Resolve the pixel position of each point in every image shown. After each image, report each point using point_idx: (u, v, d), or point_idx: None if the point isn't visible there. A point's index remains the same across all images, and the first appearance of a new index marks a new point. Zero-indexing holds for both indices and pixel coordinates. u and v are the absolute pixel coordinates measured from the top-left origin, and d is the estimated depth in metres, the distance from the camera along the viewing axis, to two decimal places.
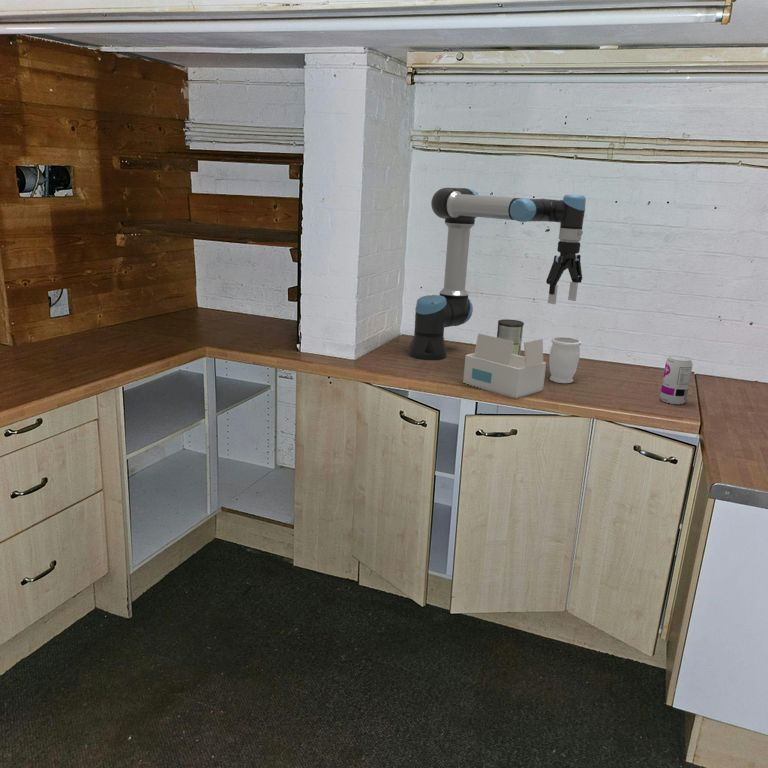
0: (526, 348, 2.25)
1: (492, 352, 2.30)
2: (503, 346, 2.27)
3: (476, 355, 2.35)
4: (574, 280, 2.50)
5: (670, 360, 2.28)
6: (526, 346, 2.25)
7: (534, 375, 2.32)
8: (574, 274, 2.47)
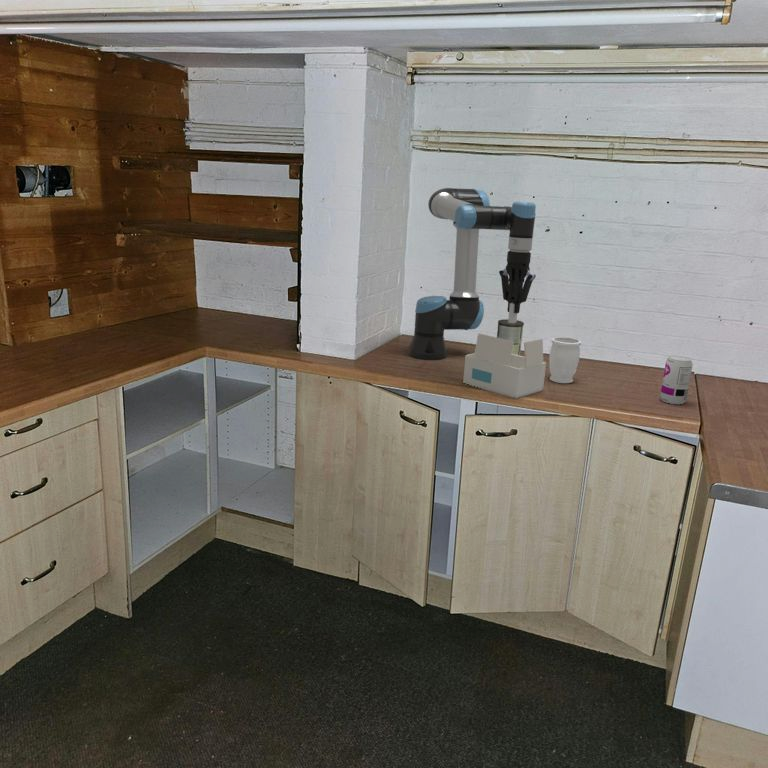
0: (526, 348, 2.25)
1: (492, 352, 2.30)
2: (503, 346, 2.27)
3: (476, 355, 2.35)
4: None
5: (670, 360, 2.28)
6: (526, 346, 2.25)
7: (534, 375, 2.32)
8: None
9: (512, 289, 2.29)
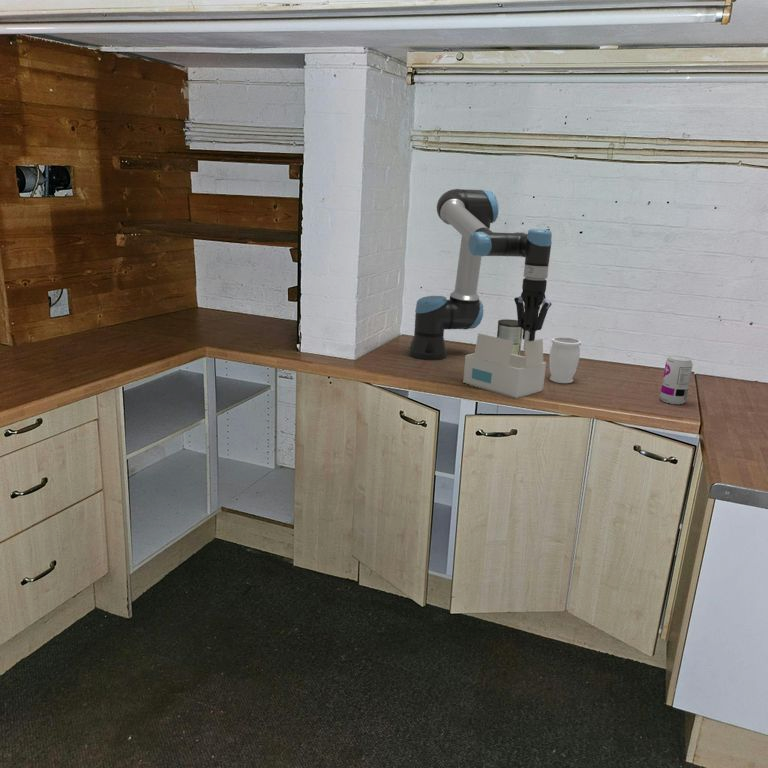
0: (526, 348, 2.25)
1: (492, 352, 2.30)
2: (503, 346, 2.27)
3: (476, 355, 2.35)
4: None
5: (670, 360, 2.28)
6: (527, 346, 2.25)
7: (534, 375, 2.32)
8: None
9: (527, 317, 2.27)
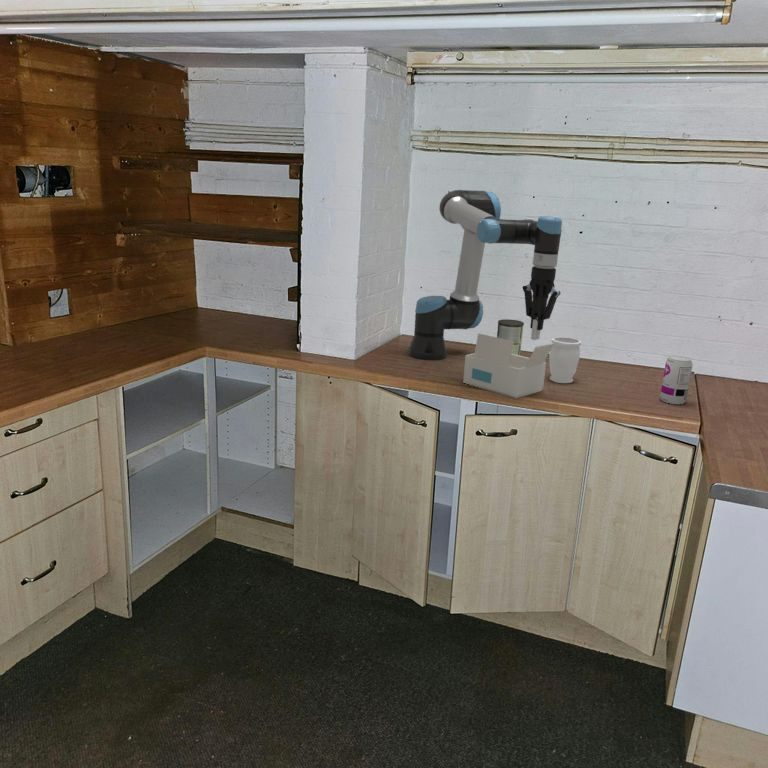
0: (535, 352, 2.23)
1: (492, 352, 2.30)
2: (503, 346, 2.27)
3: (476, 355, 2.35)
4: None
5: (670, 360, 2.28)
6: (536, 350, 2.23)
7: (534, 375, 2.32)
8: None
9: (536, 305, 2.24)
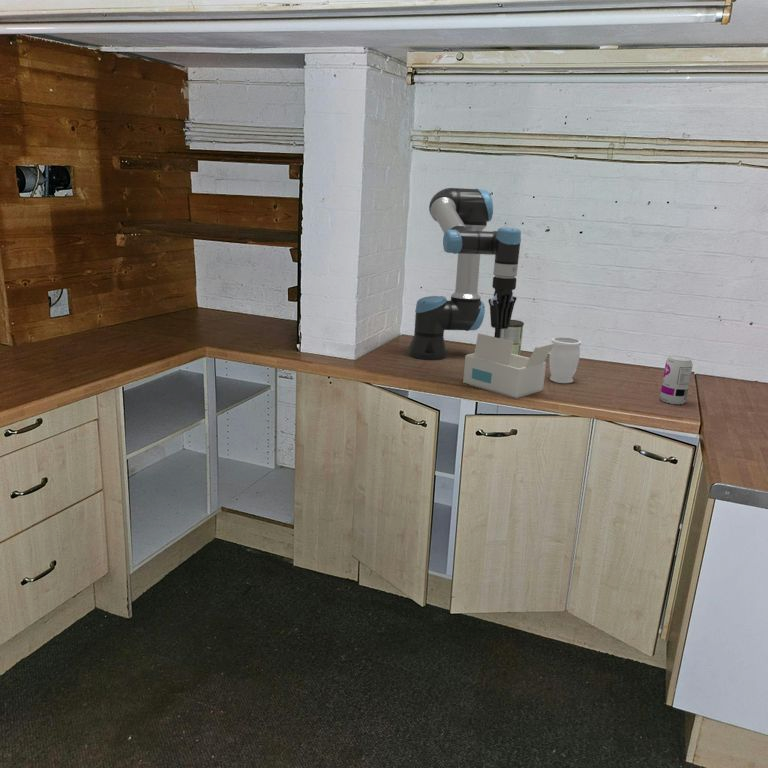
0: (535, 352, 2.23)
1: (492, 352, 2.30)
2: (503, 346, 2.27)
3: (476, 355, 2.35)
4: None
5: (670, 360, 2.28)
6: (536, 351, 2.23)
7: (534, 375, 2.32)
8: (504, 315, 2.29)
9: None
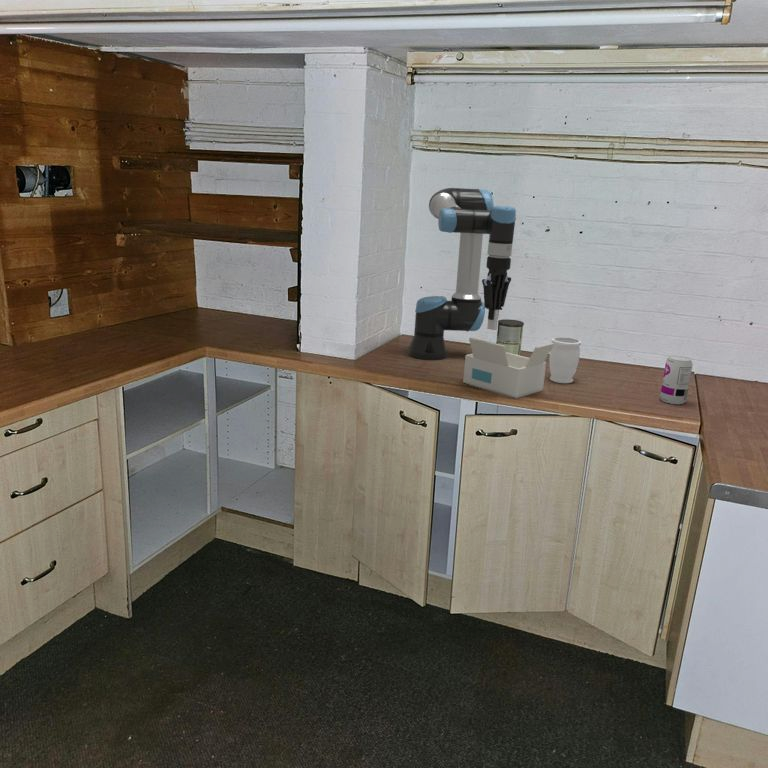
0: (535, 352, 2.23)
1: (488, 354, 2.29)
2: (496, 350, 2.25)
3: (476, 357, 2.34)
4: None
5: (670, 360, 2.28)
6: (536, 351, 2.23)
7: (534, 375, 2.32)
8: (498, 296, 2.24)
9: None
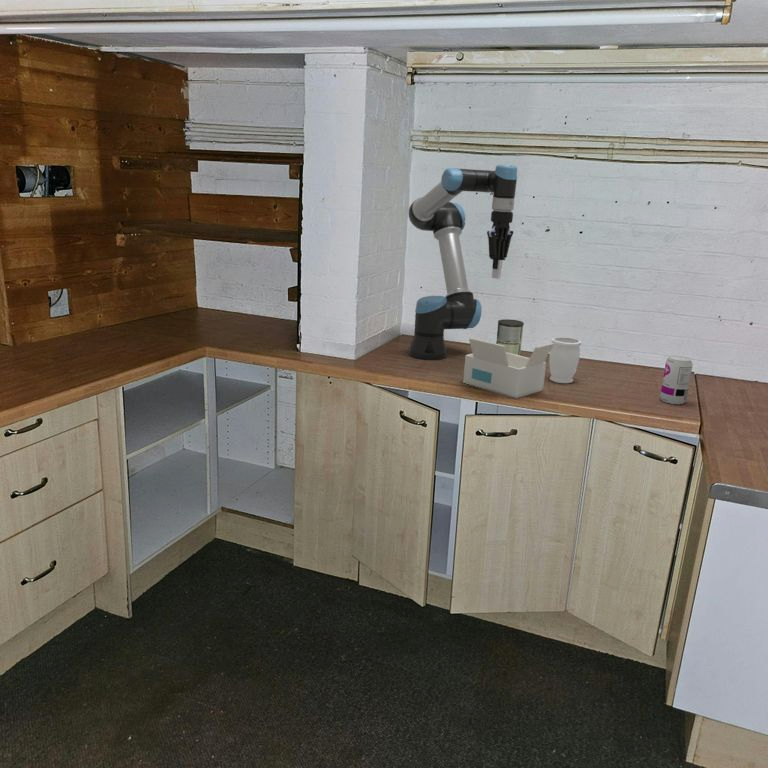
0: (535, 352, 2.23)
1: (488, 354, 2.29)
2: (496, 350, 2.25)
3: (476, 357, 2.34)
4: None
5: (670, 360, 2.28)
6: (536, 351, 2.23)
7: (534, 375, 2.32)
8: (501, 248, 2.48)
9: None
